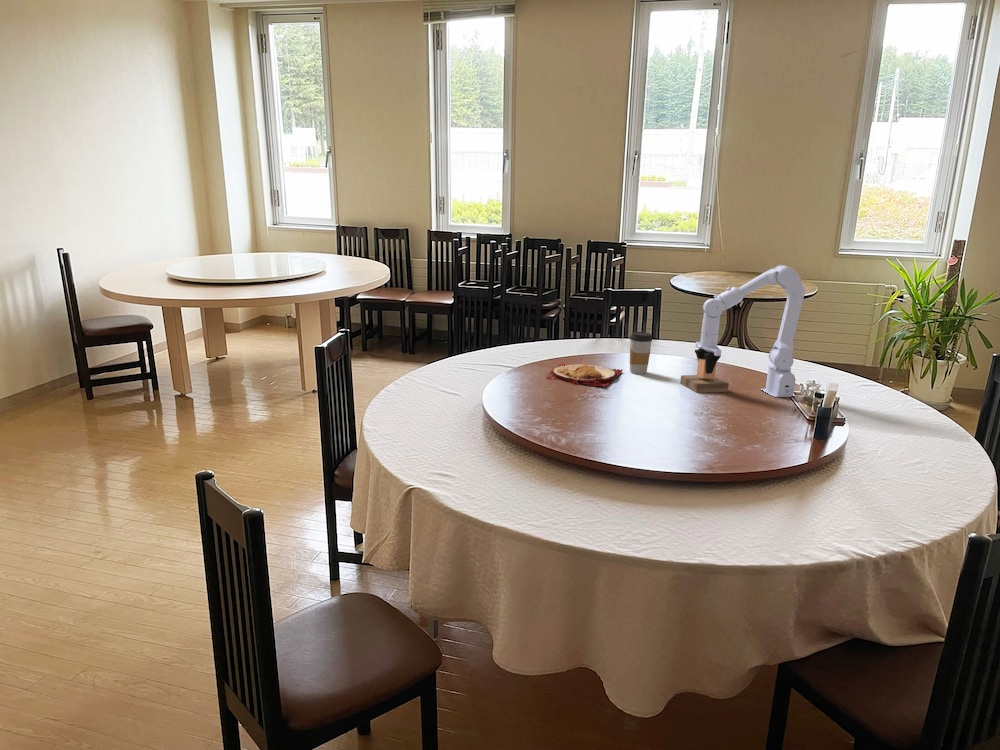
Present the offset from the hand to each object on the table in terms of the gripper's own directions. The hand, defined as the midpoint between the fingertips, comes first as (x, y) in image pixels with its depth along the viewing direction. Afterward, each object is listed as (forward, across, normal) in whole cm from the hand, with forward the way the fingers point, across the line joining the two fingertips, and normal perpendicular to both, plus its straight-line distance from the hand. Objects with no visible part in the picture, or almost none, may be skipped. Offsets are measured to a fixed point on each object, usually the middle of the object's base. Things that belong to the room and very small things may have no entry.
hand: (705, 371), depth 249 cm
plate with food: (+7, -19, -39) cm, 44 cm away
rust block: (+2, 0, 0) cm, 2 cm away
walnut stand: (+6, 0, 0) cm, 6 cm away
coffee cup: (+6, -23, -15) cm, 28 cm away
